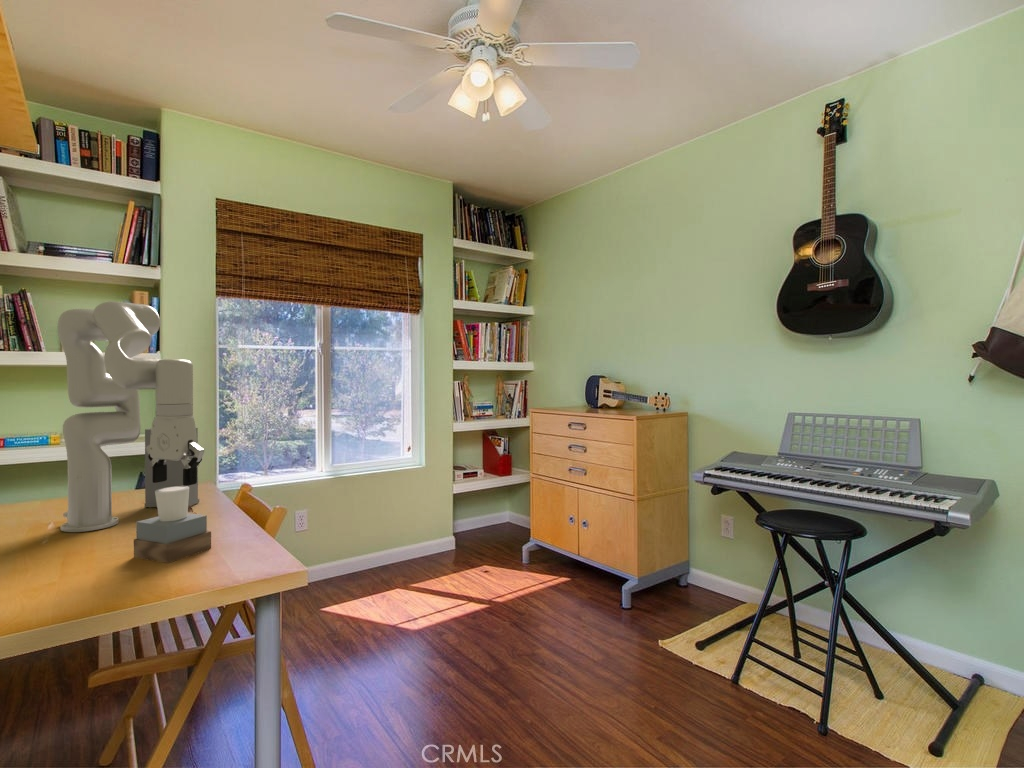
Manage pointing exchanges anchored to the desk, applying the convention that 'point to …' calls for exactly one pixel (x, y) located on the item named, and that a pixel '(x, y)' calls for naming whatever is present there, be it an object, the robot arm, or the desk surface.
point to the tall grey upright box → (172, 477)
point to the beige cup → (172, 502)
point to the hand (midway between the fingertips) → (174, 483)
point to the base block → (172, 548)
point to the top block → (171, 528)
